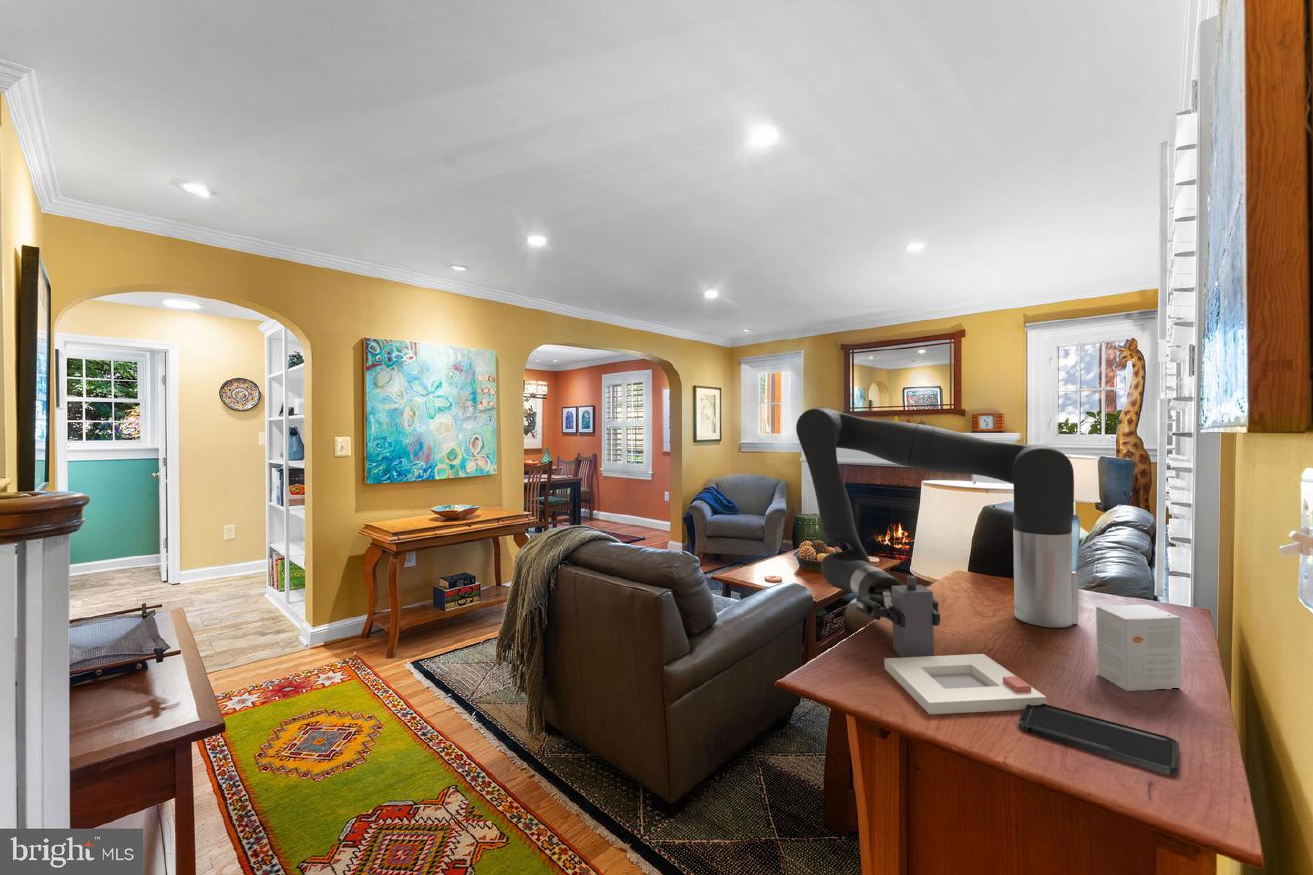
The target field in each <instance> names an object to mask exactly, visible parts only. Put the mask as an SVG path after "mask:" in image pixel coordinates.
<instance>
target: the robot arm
mask: <svg viewBox="0 0 1313 875" xmlns="http://www.w3.org/2000/svg"><path fill="white" fill-rule="evenodd" d="M795 428H796V429H795V430H796V435H797V438H798V440H799V443H800V447H801V449H802V452H803V453H804V454H803V455H804V457H805V460H806V462H807V465H808V469H809V473H810V476H811V479H812V483H813V488H814V492H815V497H816V503H817V508H818V509H817V510H818V512H819V513H818V514H819V519H820V524H821V528H822V534H823V538H824V539H825V541H827V542H829V543H834V544H835V543H837V544H838V543H842V544H845V545H846V546H847V548H848V550H843V551H836V552H832V553H827V554H826V555H825V556H824V557H823V558H822V560H821V562H820V571H821V573H822V574H821V575H822V576H823V578H824V580H826V582H827V583H828V584H829V585H830V586H832V587H834V588H835V589H838V590H843V591H847V592H851V593H852V594H853V595H854V596H855V597H856V598H855V599H856V600H855V601H856V611H859V612H860V613H861V614H863V615H866V616H867V617H870V618H871V619H873V620H876V621H880V620H881V619H882V618H884V619H885V620H886V621H887V622H891V623H892V624H893V623H894V624H896V625H898V626H899V627H905V615H904V614H903V613H902V612H900V611H899V610H898V609H896V608H895V607H892V586H901V585H904V584H903V583H902V582H901V581H900V580H899V579H897V578H896V577H895V576H892V575H891V574H889V573H888V572H886V571H884V570H883V569H881V568H880V567H876V566H874V565H873V564H872V563H871V559H870V557H869V556H868V553H867V552H866V550H865V548H864V546H863V544H862V542H861V539H860V538H859V534H858V533H857V529H856V525H855V519H854V514H853V508H852V505H851V504H852V503H851V501H850V496H849V494H848V491H847V488H846V487H845V483H844V482H843V479H842V475H841V471H840V468H839V462H838V457H837V456H838V455H837V449H845V450H854V451H859V452H862V453H867V454H869V455H872V456H874V457H877V458H880V459H882V460H885V461H888V462H890V463H893V464H897V465H901V466H902V467H903V466H904V467H907V468H908V467H909V468H912V469H917V470H922V471H927V472H928V471H929V472H935V473H942V474H953V475H955V474H956V475H975V476H981V477H987V478H991V479H994V480H998V481H1003V482H1007V483H1010V484H1013V514H1012V529H1013V530H1012V531H1013V532H1012V533H1013V535H1012V536H1013V537H1012V538H1013V540H1012V541H1013V583H1014V584H1013V586H1014V587H1013V588H1014V592H1013V595H1014V596H1013V597H1014V598H1013V599H1014V601H1013V602H1014V605H1013V606H1014V617H1015V618H1016V619H1018V620H1019V621H1021V622H1024V623H1026V624H1030V625H1033V626H1038V627H1045V628H1053V629H1054V628H1057V629H1059V628H1061V629H1062V628H1068V627H1069V628H1070V627H1071V626H1073V625H1076V624H1079V575H1078V573H1077V572H1076V571H1074V570H1073V519H1074V515H1075V514H1074V513H1075V508H1074V507H1075V473H1074V468H1073V463H1072V462H1071V460H1070V459H1069V457H1068V456H1067V455H1066V454H1065V453H1063V452H1062V451H1060V450H1059V449H1056V448H1055V447H1051V446H1048V445H1044V444H1027V443H1026V444H1024V443H1012V442H1005V441H1004V442H1001V441H994V440H988V439H984V438H980V437H977V436H973V435H969V434H966V433H963V432H959V431H954V430H951V429H947V428H946V429H945V428H943V427H942V428H941V427H936V426H934V425H933V426H931V425H927V424H920V423H919V424H918V423H914V422H913V423H912V422H905V421H904V422H903V421H895V420H881V419H880V420H878V419H869V418H864V417H859V416H855V415H851V414H848V413H844V412H841V411H837V410H834V409H832V408H828V407H814V408H810V409H807V410H805V411H804V412H803V413H801V415H800V416H799V417H798V419H797V422H796V425H795ZM940 624H941V614H940V612H939V601H938V600H937V599H936V598H935V597H934V596H933V627H939V625H940Z"/></svg>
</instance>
